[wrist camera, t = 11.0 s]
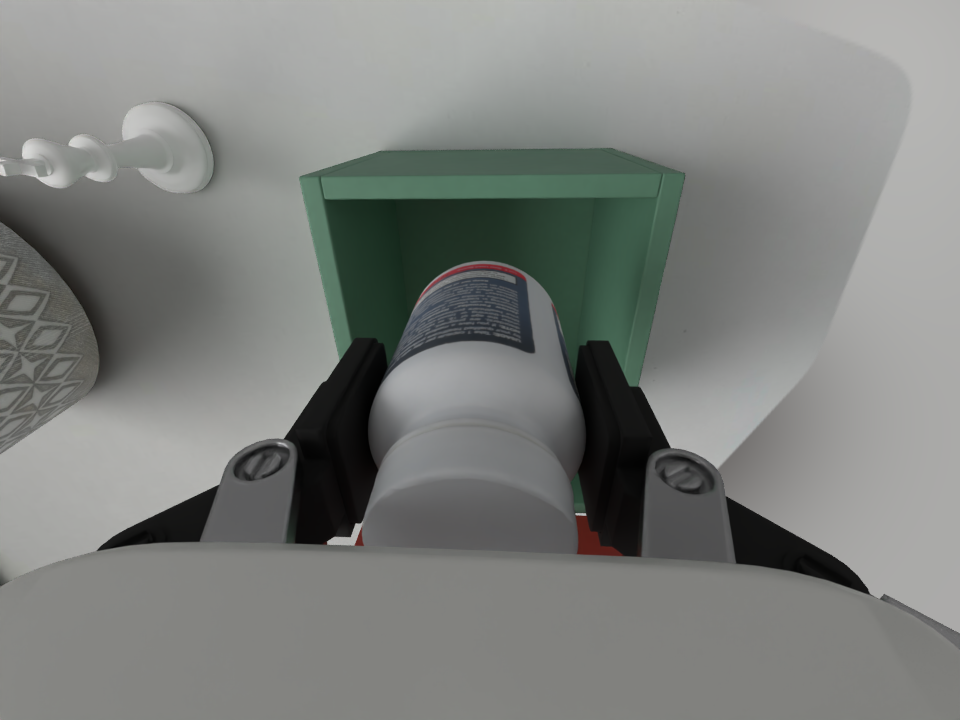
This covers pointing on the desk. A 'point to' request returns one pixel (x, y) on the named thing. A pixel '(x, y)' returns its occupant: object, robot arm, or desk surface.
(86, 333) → the planter
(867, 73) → the desk surface
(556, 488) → the pill bottle
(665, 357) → the desk surface
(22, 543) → the desk surface
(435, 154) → the box
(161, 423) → the desk surface
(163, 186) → the chess piece
